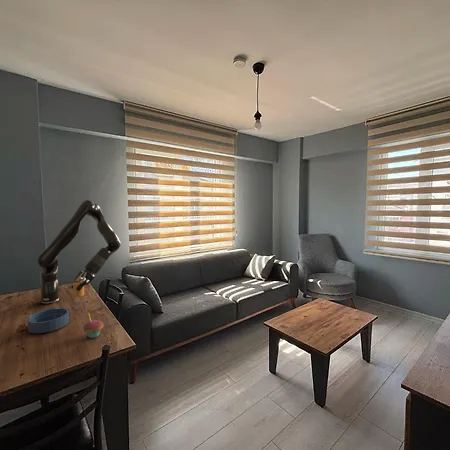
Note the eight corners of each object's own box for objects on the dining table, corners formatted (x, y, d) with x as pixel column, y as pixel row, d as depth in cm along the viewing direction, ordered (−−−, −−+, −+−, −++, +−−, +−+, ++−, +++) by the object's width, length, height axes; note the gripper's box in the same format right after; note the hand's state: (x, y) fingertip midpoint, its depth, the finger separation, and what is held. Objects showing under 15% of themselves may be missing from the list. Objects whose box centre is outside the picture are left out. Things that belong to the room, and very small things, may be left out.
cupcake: (83, 341, 114) (82, 316, 114) (84, 333, 122) (83, 309, 121) (104, 337, 118) (102, 313, 118) (103, 329, 126) (102, 306, 125)
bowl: (37, 320, 136) (36, 309, 135) (73, 316, 141) (73, 306, 140) (20, 336, 119) (20, 324, 118) (62, 331, 124) (61, 320, 123)
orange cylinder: (75, 294, 141) (74, 280, 140) (85, 293, 142) (84, 279, 142) (72, 297, 136) (71, 283, 135) (82, 296, 137) (82, 282, 137)
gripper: (106, 269, 144) (86, 295, 135) (94, 265, 153) (74, 289, 144) (97, 262, 140) (75, 288, 131) (85, 258, 148) (63, 283, 139)
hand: (75, 289), depth 137 cm, fingers closed on orange cylinder, 5 cm apart
